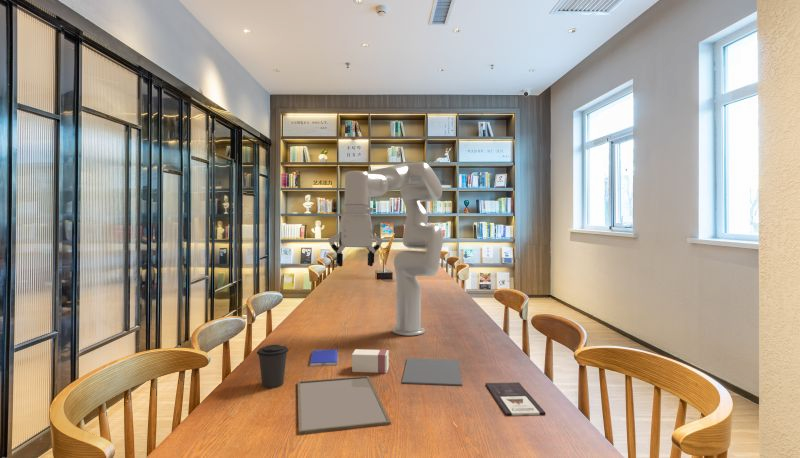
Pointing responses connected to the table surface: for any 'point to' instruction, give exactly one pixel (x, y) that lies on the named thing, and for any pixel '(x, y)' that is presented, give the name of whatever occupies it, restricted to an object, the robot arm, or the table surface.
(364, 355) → the card box
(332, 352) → the hard drive
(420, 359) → the mat
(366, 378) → the picture frame
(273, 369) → the coffee cup
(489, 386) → the chocolate bar
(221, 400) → the table surface
